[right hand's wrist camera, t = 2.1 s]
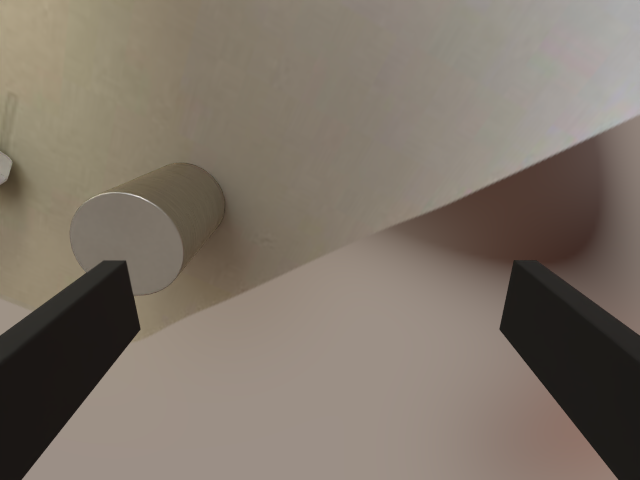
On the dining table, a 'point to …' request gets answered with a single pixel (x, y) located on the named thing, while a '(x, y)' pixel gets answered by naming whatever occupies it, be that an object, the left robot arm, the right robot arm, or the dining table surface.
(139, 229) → the tin
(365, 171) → the dining table surface
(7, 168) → the white segmented block model
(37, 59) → the dining table surface
